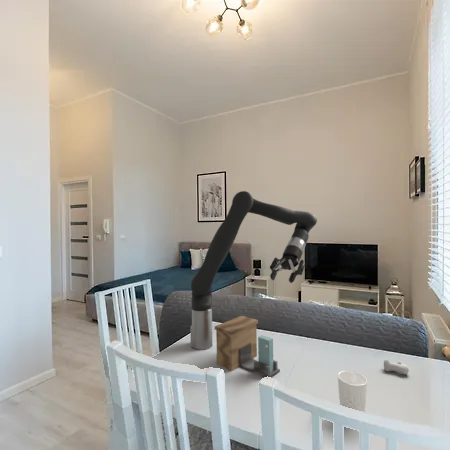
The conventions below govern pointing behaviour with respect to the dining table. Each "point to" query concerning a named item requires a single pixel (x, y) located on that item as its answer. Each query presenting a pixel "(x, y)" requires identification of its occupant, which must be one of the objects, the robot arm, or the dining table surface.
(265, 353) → the tall teal block
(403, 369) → the pale two-lobed sculpture
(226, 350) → the hinge cabinet
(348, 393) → the white cup
